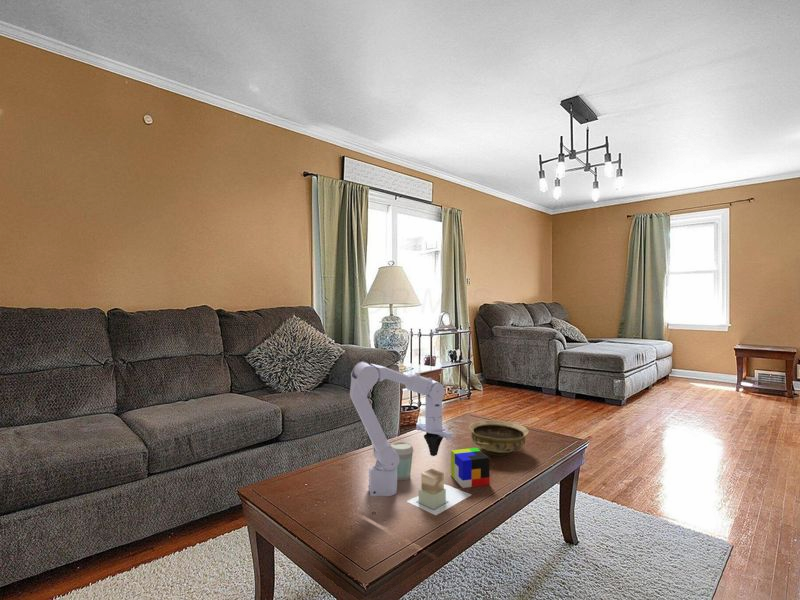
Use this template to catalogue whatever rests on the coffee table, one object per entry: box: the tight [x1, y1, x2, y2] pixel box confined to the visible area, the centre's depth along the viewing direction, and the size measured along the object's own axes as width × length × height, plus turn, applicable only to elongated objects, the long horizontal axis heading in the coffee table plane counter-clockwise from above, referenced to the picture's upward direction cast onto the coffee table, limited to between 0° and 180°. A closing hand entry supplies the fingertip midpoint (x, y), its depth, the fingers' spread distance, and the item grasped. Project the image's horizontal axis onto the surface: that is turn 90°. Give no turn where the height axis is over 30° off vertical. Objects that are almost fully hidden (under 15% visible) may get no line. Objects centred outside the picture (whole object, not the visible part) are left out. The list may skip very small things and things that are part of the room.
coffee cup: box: [390, 441, 415, 481], centre depth 152 cm, size 8×8×12 cm
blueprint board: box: [406, 483, 472, 516], centre depth 136 cm, size 18×12×1 cm, turn 135°
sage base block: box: [418, 487, 446, 509], centre depth 134 cm, size 6×6×4 cm
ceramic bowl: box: [468, 419, 529, 456], centre depth 178 cm, size 30×24×10 cm
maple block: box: [420, 468, 445, 494], centre depth 134 cm, size 5×5×5 cm
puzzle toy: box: [450, 447, 491, 489], centre depth 150 cm, size 10×10×10 cm
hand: (433, 455), depth 147 cm, fingers closed
